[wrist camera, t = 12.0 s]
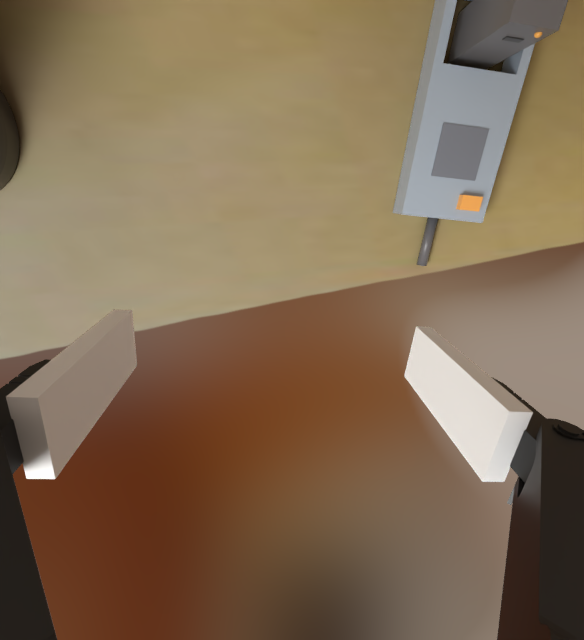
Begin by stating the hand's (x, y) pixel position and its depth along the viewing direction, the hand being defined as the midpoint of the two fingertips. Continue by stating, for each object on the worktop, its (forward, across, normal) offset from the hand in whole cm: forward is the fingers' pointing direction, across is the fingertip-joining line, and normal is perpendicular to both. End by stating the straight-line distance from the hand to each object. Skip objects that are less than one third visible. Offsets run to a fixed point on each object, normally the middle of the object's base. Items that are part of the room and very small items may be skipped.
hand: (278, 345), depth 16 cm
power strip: (+28, +20, +14) cm, 38 cm away
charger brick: (+29, +20, +23) cm, 42 cm away
